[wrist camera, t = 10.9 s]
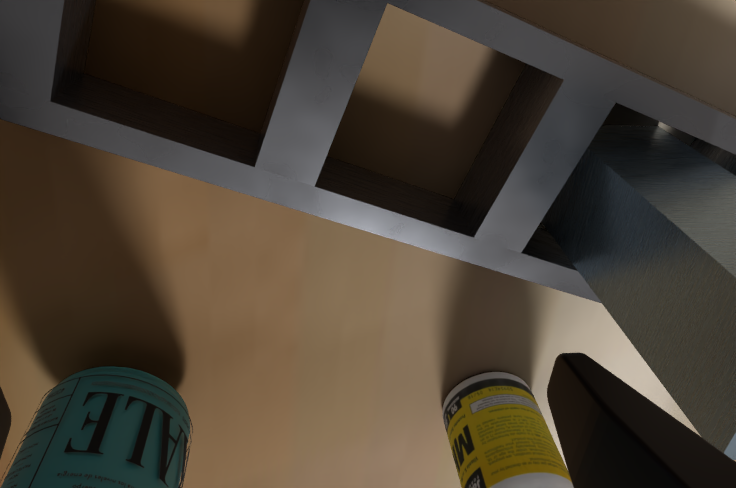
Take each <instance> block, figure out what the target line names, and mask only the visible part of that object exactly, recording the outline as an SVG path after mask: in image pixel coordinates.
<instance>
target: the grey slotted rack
mask: <svg viewBox="0 0 736 488" xmlns="http://www.w3.org/2000/svg"><path fill="white" fill-rule="evenodd" d="M95 2H96V0H0V119H2V120H5V121H9V122H12V123H15V124H18V125H22V126H25V127H28V128H32V129H35V130H38V131H41V132H45V133H48V134H51V135H54V136H58V137H61V138H64V139H67V140H71V141H74V142H77V143H80V144H84V145H87V146H90V147H93V148H97V149H100V150H103V151H107V152H110V153H113V154H116V155H120V156H123V157H126V158H129V159H133V160H136V161H139V162H142V163H146V164H149V165H152V166H155V167H159V168H162V169H165V170H169V171H172V172H175V173H178V174H182V175H185V176H188V177H191V178H195V179H198V180H201V181H204V182H208V183H211V184H214V185H217V186H221V187H224V188H227V189H230V190H234V191H237V192H240V193H244V194H247V195H250V196H253V197H257V198H260V199H263V200H266V201H270V202H273V203H276V204H279V205H283V206H286V207H289V208H292V209H296V210H299V211H302V212H306V213H309V214H312V215H315V216H319V217H322V218H325V219H328V220H332V221H335V222H338V223H341V224H345V225H348V226H351V227H354V228H358V229H361V230H364V231H367V232H371V233H374V234H377V235H381V236H384V237H387V238H390V239H394V240H397V241H400V242H403V243H407V244H410V245H413V246H416V247H420V248H423V249H426V250H429V251H433V252H436V253H439V254H442V255H446V256H449V257H452V258H456V259H459V260H462V261H465V262H469V263H472V264H475V265H478V266H482V267H485V268H488V269H491V270H495V271H498V272H501V273H504V274H508V275H511V276H514V277H518V278H521V279H524V280H527V281H531V282H534V283H537V284H540V285H544V286H547V287H550V288H553V289H557V290H560V291H563V292H566V293H570V294H573V295H576V296H579V297H583V298H586V299H589V300H593V301H596V302H599V303H601V301H600V300H599V299H598V297H597V296H596V294H595V293H594V292H593V290H592V289H591V288H590V286H589V285H588V284H587V282H586V281H585V280H584V278H583V277H582V276H581V274H580V273H579V272H578V270H577V269H576V268H575V266H574V265H573V264H572V262H571V261H570V260H569V258H568V257H567V256H566V254H565V253H564V252H563V250H562V249H561V248H560V246H559V245H558V243H557V242H556V241H555V239H554V238H553V237H552V235H551V234H550V233H549V232H548V231H546V230H543V229H540V228H537V227H538V225H539V224H540V222H541V221H542V219H543V217H544V216H545V214H546V213H547V211H548V209H549V208H550V206H551V205H552V203H553V202H554V200H555V198H556V197H557V195H558V194H559V192H560V190H561V189H562V187H563V186H564V184H565V182H566V181H567V179H568V178H569V176H570V175H571V173H572V171H573V170H574V168H575V167H576V165H577V163H578V162H579V160H580V159H581V157H582V155H583V154H584V152H585V151H586V149H587V148H588V146H589V144H590V143H591V141H592V140H593V138H594V136H595V135H596V133H597V132H598V130H599V128H600V127H601V125H602V124H603V122H604V121H605V119H606V117H607V116H608V114H609V113H610V111H611V109H612V108H613V106H614V105H615V103H619V104H621V105H623V106H625V107H628V108H630V109H632V110H635V111H637V112H639V113H641V114H644V115H646V116H648V117H651V118H653V119H655V120H658V121H660V122H662V123H664V124H667V125H669V126H671V127H674V128H676V129H678V130H681V131H683V132H685V133H687V134H690V135H692V136H694V137H697V138H696V139H695V141H694V142H693V143H692V145H691V146H690V147H691V148H693V149H694V150H696V151H698V152H699V153H701V154H702V155H704V156H705V157H707V158H708V159H710V160H712V161H713V162H715V163H716V164H718V165H719V166H721V167H722V168H724V169H726V170H727V171H729V172H730V173H732V174H733V175H735V176H736V116H734V115H732V114H729V113H727V112H725V111H723V110H721V109H719V108H716V107H714V106H712V105H710V104H708V103H706V102H703V101H701V100H699V99H697V98H695V97H693V96H690V95H688V94H686V93H684V92H682V91H680V90H677V89H675V88H673V87H671V86H669V85H667V84H664V83H662V82H660V81H658V80H656V79H654V78H651V77H649V76H647V75H645V74H643V73H641V72H638V71H636V70H634V69H632V68H630V67H628V66H625V65H623V64H621V63H619V62H617V61H615V60H612V59H610V58H608V57H606V56H604V55H602V54H599V53H597V52H595V51H593V50H591V49H589V48H586V47H584V46H582V45H580V44H578V43H576V42H573V41H571V40H569V39H567V38H565V37H563V36H560V35H558V34H556V33H554V32H552V31H550V30H547V29H545V28H543V27H541V26H539V25H537V24H534V23H532V22H530V21H528V20H526V19H524V18H521V17H519V16H517V15H515V14H513V13H511V12H508V11H506V10H504V9H502V8H500V7H498V6H495V5H493V4H491V3H489V2H487V1H484V0H304V2H303V5H302V8H301V11H300V14H299V17H298V20H297V23H296V26H295V29H294V32H293V35H292V38H291V41H290V44H289V47H288V50H287V53H286V56H285V59H284V63H283V66H282V69H281V72H280V75H279V78H278V81H277V84H276V87H275V90H274V93H273V96H272V99H271V102H270V105H269V108H268V111H267V114H266V117H265V120H264V123H263V126H262V129H261V132H260V133H257V132H254V131H251V130H248V129H246V128H243V127H240V126H237V125H234V124H231V123H228V122H225V121H222V120H219V119H216V118H213V117H210V116H207V115H204V114H201V113H198V112H196V111H193V110H190V109H187V108H184V107H181V106H178V105H175V104H172V103H169V102H166V101H163V100H160V99H157V98H154V97H151V96H148V95H146V94H143V93H140V92H137V91H134V90H131V89H128V88H125V87H122V86H119V85H116V84H113V83H110V82H107V81H104V80H101V79H98V78H96V77H93V76H90V75H87V74H84V70H85V64H86V58H87V51H88V45H89V39H90V33H91V27H92V21H93V15H94V9H95ZM387 3H389V4H391V5H394V6H396V7H398V8H400V9H403V10H405V11H407V12H410V13H412V14H414V15H416V16H419V17H421V18H423V19H426V20H428V21H430V22H433V23H435V24H437V25H439V26H442V27H444V28H446V29H449V30H451V31H453V32H456V33H458V34H460V35H462V36H465V37H467V38H469V39H472V40H474V41H476V42H478V43H481V44H483V45H485V46H488V47H490V48H492V49H495V50H497V51H499V52H501V53H504V54H506V55H508V56H511V57H513V58H515V59H518V60H520V61H522V62H524V63H527V64H526V66H525V68H524V70H523V72H522V73H521V75H520V77H519V79H518V81H517V83H516V85H515V86H514V88H513V90H512V92H511V94H510V96H509V98H508V100H507V101H506V103H505V105H504V107H503V109H502V111H501V113H500V115H499V116H498V118H497V120H496V122H495V124H494V126H493V128H492V130H491V131H490V133H489V135H488V137H487V139H486V141H485V143H484V145H483V146H482V148H481V150H480V152H479V154H478V156H477V158H476V160H475V161H474V163H473V165H472V167H471V169H470V171H469V173H468V175H467V176H466V178H465V180H464V182H463V184H462V186H461V188H460V190H459V191H458V193H457V195H456V197H455V199H451V198H448V197H446V196H443V195H440V194H437V193H434V192H431V191H428V190H425V189H422V188H419V187H416V186H413V185H410V184H407V183H404V182H401V181H398V180H396V179H393V178H390V177H387V176H384V175H381V174H378V173H375V172H372V171H369V170H366V169H363V168H360V167H357V166H354V165H351V164H348V163H346V162H343V161H340V160H337V159H334V158H331V157H328V156H327V154H328V151H329V149H330V146H331V144H332V141H333V139H334V136H335V134H336V131H337V128H338V126H339V123H340V121H341V118H342V116H343V113H344V111H345V108H346V106H347V103H348V101H349V98H350V96H351V93H352V91H353V88H354V86H355V83H356V81H357V78H358V76H359V73H360V70H361V68H362V65H363V63H364V60H365V58H366V55H367V53H368V50H369V48H370V45H371V43H372V40H373V38H374V35H375V33H376V30H377V28H378V25H379V23H380V20H381V18H382V15H383V12H384V10H385V7H386V5H387Z"/></svg>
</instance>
